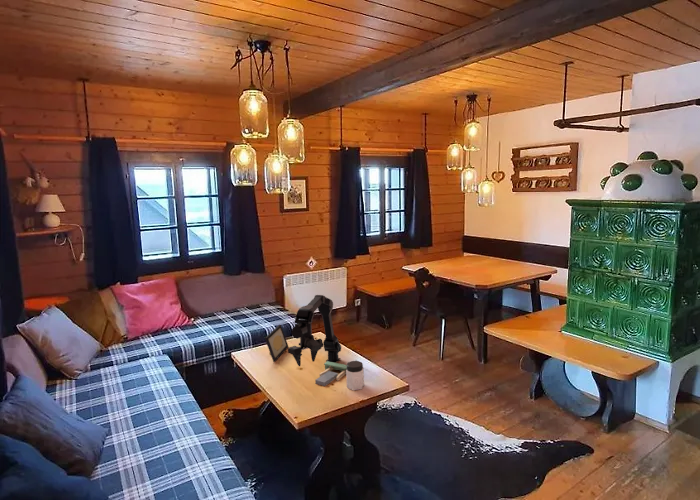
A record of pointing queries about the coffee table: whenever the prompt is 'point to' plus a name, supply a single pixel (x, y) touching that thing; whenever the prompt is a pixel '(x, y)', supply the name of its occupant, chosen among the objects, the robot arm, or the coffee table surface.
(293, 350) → the robot arm
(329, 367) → the dock
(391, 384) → the coffee table surface
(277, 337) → the picture frame
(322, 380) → the slate tile
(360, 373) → the jar
